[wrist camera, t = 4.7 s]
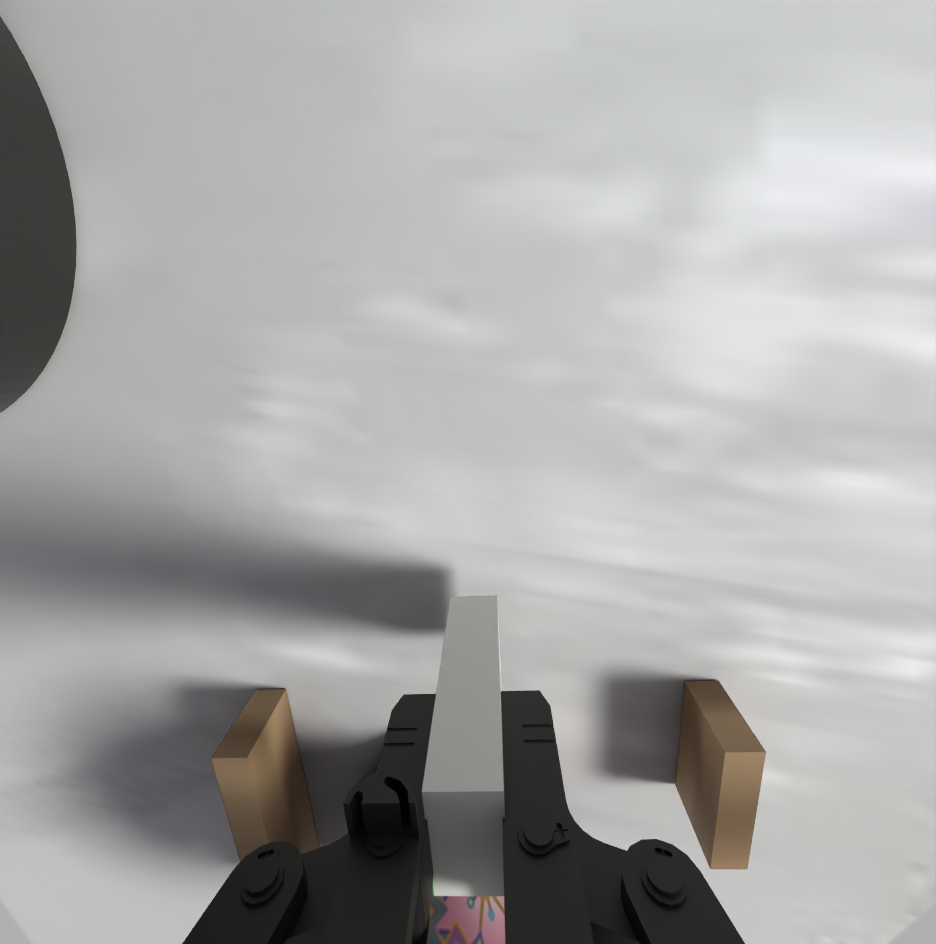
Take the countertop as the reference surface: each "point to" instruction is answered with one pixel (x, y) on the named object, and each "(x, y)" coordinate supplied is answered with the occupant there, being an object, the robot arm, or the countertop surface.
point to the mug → (467, 919)
